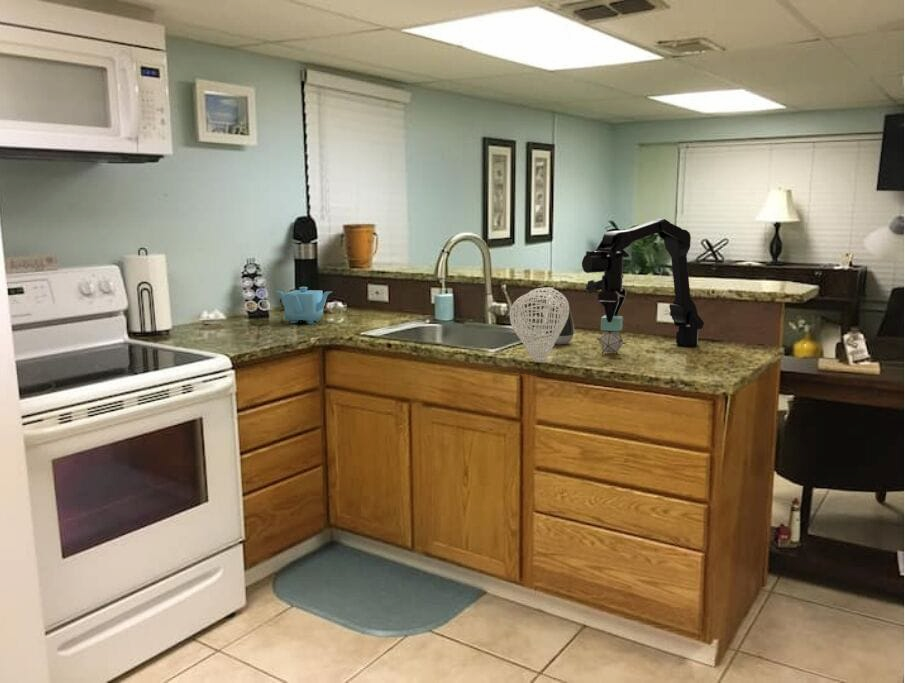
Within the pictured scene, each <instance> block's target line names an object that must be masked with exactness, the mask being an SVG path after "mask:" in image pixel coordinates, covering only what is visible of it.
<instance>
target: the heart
mask: <svg viewBox="0 0 905 683" xmlns="http://www.w3.org/2000/svg"><path fill="white" fill-rule="evenodd" d="M558 301H559V302H558ZM554 302H555V303H554ZM561 302H562V303H561ZM549 303H550V304H549ZM529 304H531V305H530V306H529ZM534 304H535V305H534ZM553 304H555V305H553ZM560 304H561V305H560ZM525 305H526V306H525ZM563 305H564V306H563ZM554 306H555V307H554ZM561 306H562V307H561ZM538 307H539V308H538ZM542 307H543V309H542ZM551 307H552V311H551ZM556 307H558V309H557V308H556ZM564 307H565V308H564ZM566 307H567V309H566ZM553 308H554V312H553ZM564 309H565V310H564ZM569 309H570V304H569V301H568V299H567V297H566V296H565V295H564V294H563V293H561V291H559V290H557V289H554V288H552V287H540V288H539V287H538V288H534V289H532V290H529V292H527V293H525V294H523V295H521V296H519V297H518V298H517V299H516V300H514V301H513V303H512V304H511V307H510V310H509V321H510V322H509V323H510V325H511V328H512V330H514V333H515V334H516V336H517V337H518V339H519V340H520V341H521V342H522V345H523V346H524V347H525V349H526V351H527V352H528V353H529V355H530V356H531V358H532V359H533V360H534V361H535V363H536V362H537V363H542V362H544V361H545V359H546V358H547V357H548V356H549V353H550V352H551V351H552V349H553V347H554V345H555V342H556V340H557V339H558V337H559V335H560V333H561V331H562V329H563V328H564V326H565V324H566V321H567V319H568V316H569ZM556 310H557V312H556ZM563 311H564V313H563ZM537 313H538V314H539V316H537ZM542 313H543V316H542ZM546 313H547V316H546ZM548 313H549V318H548ZM550 313H551V318H550ZM552 313H553V314H554V315H553V318H552ZM556 314H557V318H556ZM559 315H560V319H559ZM565 315H566V316H565ZM548 319H549V320H548ZM550 319H551V323H552V320H553V323H552V324H551V323H550ZM533 320H534V322H533ZM537 320H538V322H537ZM546 320H547V323H548V324H546ZM555 320H557V321H556V324H555ZM558 321H559V323H558ZM533 326H534V327H533ZM545 326H546V329H545ZM547 326H548V329H547ZM549 326H550V329H549ZM551 326H552V329H551ZM554 326H555V328H554ZM558 326H559V327H558ZM528 327H529V328H528ZM551 330H552V333H550V331H551ZM546 331H548V334H546ZM554 332H555V333H554ZM550 335H551V336H550ZM546 336H548V338H546ZM552 336H553V337H552ZM548 339H549V340H548ZM551 340H552V341H551Z"/></svg>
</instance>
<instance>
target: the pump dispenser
mask: <svg viewBox="0 0 905 683" xmlns="http://www.w3.org/2000/svg"><path fill="white" fill-rule="evenodd" d="M553 302H554V301H553ZM558 302H559V301H558ZM554 303H555V302H554ZM561 303H562V302H561ZM553 305H555V304H553ZM560 305H561V304H560ZM563 306H564V305H563ZM554 307H555V306H554ZM561 307H562V306H561ZM556 308H557V309H558V307H556ZM564 308H565V307H564ZM566 309H567V307H566ZM564 310H565V309H564ZM551 311H552V307H551ZM553 312H554V308H553ZM556 312H557V310H556ZM563 313H564V311H563ZM553 315H554V314H553V313H552V318H553ZM565 316H566V315H565ZM548 318H549V313H548ZM550 318H551V313H550ZM556 318H557V314H556ZM559 319H560V315H559ZM548 320H549V319H548ZM556 321H557V320H555V324H556ZM550 323H551V319H550ZM552 323H553V320H552ZM552 323H551V324H552ZM558 323H559V321H558ZM545 324H548V323H547V319H545ZM558 327H559V326H558ZM554 328H555V326H554ZM545 329H546V326H545ZM547 329H548V326H547ZM549 329H550V326H549ZM551 329H552V326H551ZM550 333H552V330H551V331H550ZM554 333H555V332H554ZM546 334H548V331H546ZM574 335H575V325H574V319H573V316H572V312H571V309H570V308H569V316H568V319H567V321H566V324H565V326H564V328H563V329H562V331H561V333H560V335H559V337H558V339H557V340H556V342H555V344H565V345H568V344H569V343H570V342H572V340H573V338H574ZM550 336H551V335H550ZM545 337H546V338H548V336H545ZM552 337H553V336H552ZM548 340H549V339H548ZM551 341H552V340H551ZM555 344H554V345H555Z"/></svg>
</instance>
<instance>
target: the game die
mask: <svg viewBox="0 0 905 683" xmlns="http://www.w3.org/2000/svg"><path fill="white" fill-rule="evenodd" d="M621 330H622V329H621ZM621 330H620V331H607V330H604V331H603V333H602V335H601V336H600V337H597V338H596V340H599V344H600V346H601V349H602V351H601V354H604V353H605V352H606V353H614V354H616V355H617V354H618V355H619V350H620V349H621V348H622V346H623V345H627V343H626V342H624V341H623V338H622V335H621V333H620V332H621Z"/></svg>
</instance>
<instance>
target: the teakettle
mask: <svg viewBox="0 0 905 683" xmlns="http://www.w3.org/2000/svg"><path fill="white" fill-rule="evenodd" d="M298 288H299V289H295V290H292V291H289V292H285V293H284V292H283V291H281V290H274V292H275V293H277V294H278V295H279V297H280V299H281V302H282V303H281V304H282V305H283V307H284V321H290V323H297V324H298V322H299V321H298V320H303V321H305V323H306V324H307V323H308V324H307V325H312V324H311V323H314V322H313V321H317V322H320V320H319V318H321V317H323V316H324V307H325V305H326V302H327V299H328V296H329V295H330V294H332V293H333V291H331V290H330V291H325V292H324V293H323V290H320V289H319V290H313V289H312V290H310V289H309V290H308V287H307V286H300V287H298ZM290 323H289V324H290ZM314 324H315V323H314Z"/></svg>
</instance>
